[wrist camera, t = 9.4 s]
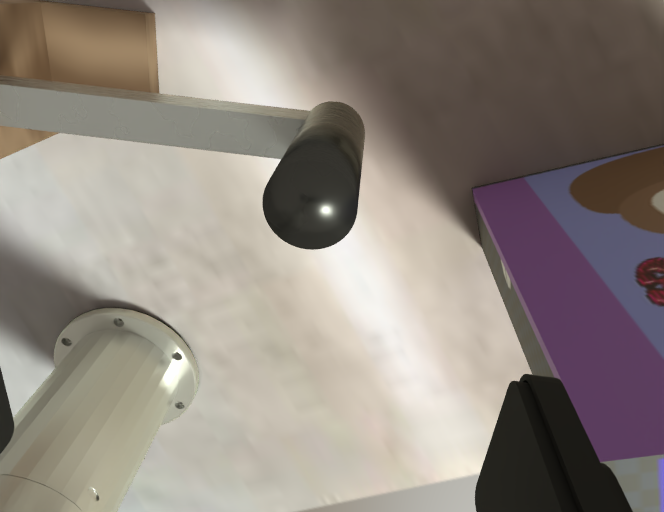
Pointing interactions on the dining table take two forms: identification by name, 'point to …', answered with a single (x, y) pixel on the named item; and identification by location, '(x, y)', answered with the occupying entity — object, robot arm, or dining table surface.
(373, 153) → the dining table surface
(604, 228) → the cereal box
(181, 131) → the shaft
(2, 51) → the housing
